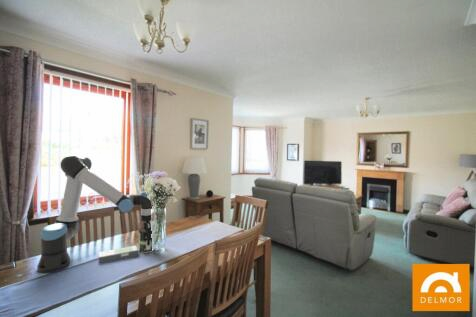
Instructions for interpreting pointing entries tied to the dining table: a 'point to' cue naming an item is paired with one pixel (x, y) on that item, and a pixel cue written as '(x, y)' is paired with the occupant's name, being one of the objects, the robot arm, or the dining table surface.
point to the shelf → (118, 254)
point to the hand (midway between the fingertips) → (146, 246)
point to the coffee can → (143, 241)
